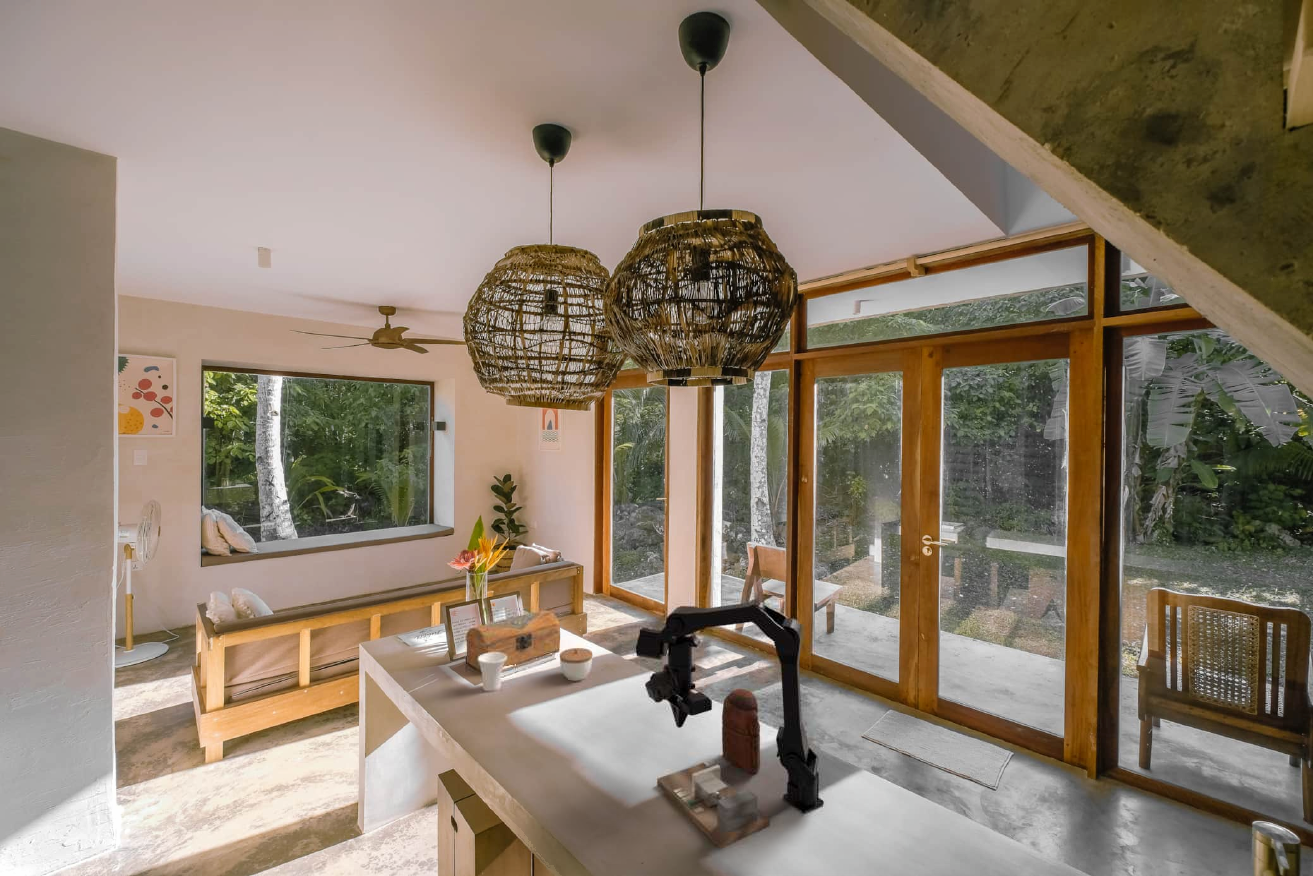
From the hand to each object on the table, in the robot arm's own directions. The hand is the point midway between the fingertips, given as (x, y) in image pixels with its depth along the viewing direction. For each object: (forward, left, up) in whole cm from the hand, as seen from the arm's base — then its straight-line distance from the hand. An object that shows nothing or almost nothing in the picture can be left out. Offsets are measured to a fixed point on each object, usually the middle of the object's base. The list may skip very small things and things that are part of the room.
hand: (679, 727), depth 141 cm
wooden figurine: (-17, +3, -12) cm, 21 cm away
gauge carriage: (+1, +15, -10) cm, 18 cm away
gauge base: (0, +13, -12) cm, 17 cm away
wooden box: (+12, -91, -12) cm, 92 cm away
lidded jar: (-1, -64, -12) cm, 65 cm away
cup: (+25, -70, -12) cm, 75 cm away
